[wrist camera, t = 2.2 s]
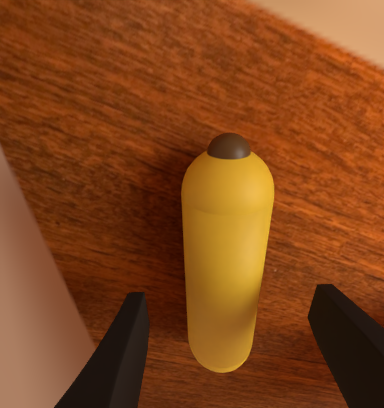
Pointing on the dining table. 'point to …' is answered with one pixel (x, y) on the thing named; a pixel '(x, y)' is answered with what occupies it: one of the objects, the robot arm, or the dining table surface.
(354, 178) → the dining table surface
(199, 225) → the banana
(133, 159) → the dining table surface
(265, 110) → the dining table surface
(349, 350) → the robot arm
